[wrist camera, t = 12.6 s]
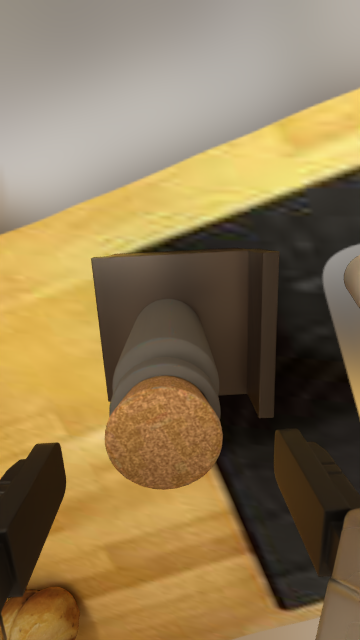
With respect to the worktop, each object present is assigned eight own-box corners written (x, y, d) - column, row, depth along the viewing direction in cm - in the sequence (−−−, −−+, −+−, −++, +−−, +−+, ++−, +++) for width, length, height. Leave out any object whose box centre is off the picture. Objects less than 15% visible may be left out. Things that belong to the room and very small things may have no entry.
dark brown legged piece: (117, 377, 33) (98, 428, 24) (104, 254, 30) (76, 261, 21) (246, 369, 34) (274, 417, 25) (247, 247, 30) (279, 251, 21)
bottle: (141, 367, 27) (107, 511, 13) (128, 303, 26) (73, 386, 11) (205, 357, 27) (244, 491, 13) (196, 293, 26) (229, 363, 11)
